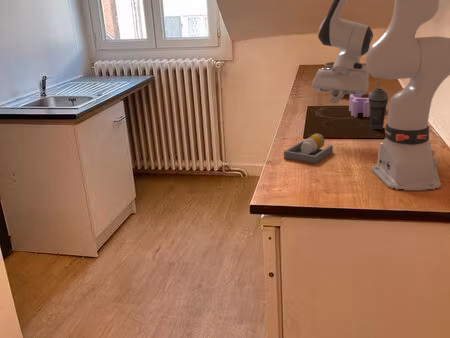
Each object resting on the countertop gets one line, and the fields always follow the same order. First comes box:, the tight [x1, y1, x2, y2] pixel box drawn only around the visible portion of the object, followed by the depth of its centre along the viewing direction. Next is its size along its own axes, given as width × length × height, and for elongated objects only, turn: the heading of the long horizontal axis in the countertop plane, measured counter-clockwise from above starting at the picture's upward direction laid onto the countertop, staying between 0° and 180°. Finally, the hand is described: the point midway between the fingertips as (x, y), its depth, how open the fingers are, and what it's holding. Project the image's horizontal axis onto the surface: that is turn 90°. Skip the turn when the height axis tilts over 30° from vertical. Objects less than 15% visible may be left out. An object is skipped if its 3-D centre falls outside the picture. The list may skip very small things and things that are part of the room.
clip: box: [348, 92, 371, 118], centre depth 206 cm, size 20×12×7 cm, turn 158°
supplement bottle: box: [301, 133, 325, 154], centre depth 159 cm, size 5×5×10 cm
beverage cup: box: [368, 78, 389, 130], centre depth 179 cm, size 7×7×20 cm
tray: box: [283, 140, 334, 165], centre depth 158 cm, size 13×12×2 cm
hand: (333, 102), depth 166 cm, fingers closed
